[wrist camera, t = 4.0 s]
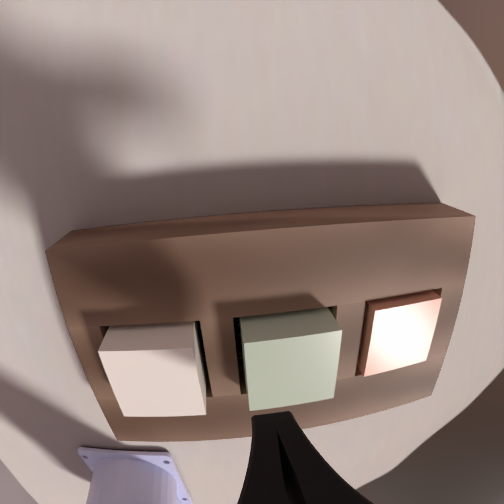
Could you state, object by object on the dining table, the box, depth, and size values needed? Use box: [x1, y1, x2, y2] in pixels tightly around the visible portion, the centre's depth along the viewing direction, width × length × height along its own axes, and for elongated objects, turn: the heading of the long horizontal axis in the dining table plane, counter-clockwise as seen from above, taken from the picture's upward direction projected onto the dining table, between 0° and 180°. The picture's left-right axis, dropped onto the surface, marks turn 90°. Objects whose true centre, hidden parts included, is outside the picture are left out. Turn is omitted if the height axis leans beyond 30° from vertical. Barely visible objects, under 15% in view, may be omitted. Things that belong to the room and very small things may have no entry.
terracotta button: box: [357, 290, 442, 377], centre depth 16 cm, size 4×4×3 cm
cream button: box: [98, 321, 206, 417], centre depth 14 cm, size 4×4×3 cm
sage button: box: [239, 307, 342, 411], centre depth 15 cm, size 4×4×3 cm
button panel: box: [45, 203, 475, 442], centre depth 16 cm, size 12×20×3 cm, turn 93°
